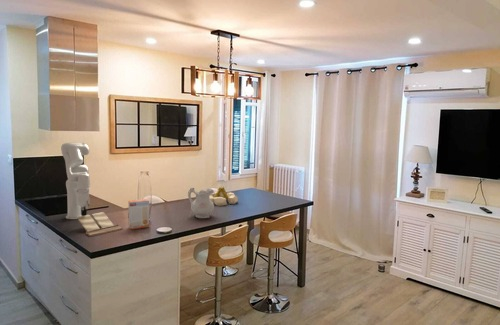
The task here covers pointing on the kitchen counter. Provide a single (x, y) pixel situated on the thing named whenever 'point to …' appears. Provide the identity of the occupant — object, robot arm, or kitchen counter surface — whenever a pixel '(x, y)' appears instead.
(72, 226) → the kitchen counter surface
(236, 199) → the campfire
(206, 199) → the ceramic pitcher
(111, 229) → the laid floor strip
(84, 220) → the plank near
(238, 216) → the kitchen counter surface
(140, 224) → the cracker box
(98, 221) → the plank far
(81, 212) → the robot arm
